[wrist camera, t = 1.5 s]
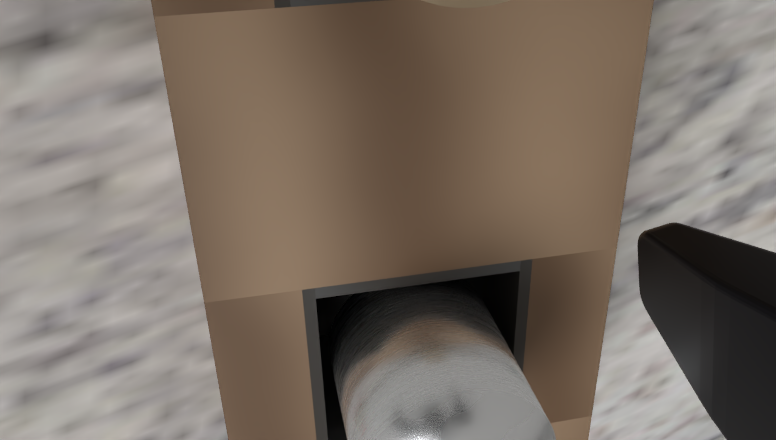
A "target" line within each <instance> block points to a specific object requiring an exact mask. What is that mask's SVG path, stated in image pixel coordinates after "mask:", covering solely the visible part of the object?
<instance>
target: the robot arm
mask: <svg viewBox="0 0 776 440" xmlns="http://www.w3.org/2000/svg"><path fill="white" fill-rule="evenodd" d="M638 264H639V287H640V294H641V298H642V301H643V304H644V306H645V309H646V310H647V312H648V314H649V316H650V317H651V319H652V321H653V322H654V324H655V326H656V327H657V329H658V331H659V332H660V334H661V336H662V337H663V339H664V341H665V342H666V344H667V346H668V347H669V349H670V351H671V353H672V354H673V356H674V358H675V359H676V361H677V363H678V364H679V366H680V368H681V369H682V371H683V373H684V374H685V376H686V378H687V379H688V381H689V383H690V384H691V386H692V388H693V389H694V391H695V393H696V394H697V396H698V398H699V400H700V401H701V403H702V404H703V406H704V407H705V409H706V411H707V412H708V414H709V415H710V417H711V419H712V420H713V421H714V423H715V424H716V426H717V427H718V428H719V430H720V431H721V432H722V434H723V435H724V437H725V438H726V439H727V440H776V253H775V252H771V251H768V250H765V249H762V248H758V247H755V246H752V245H749V244H745V243H742V242H739V241H736V240H732V239H729V238H726V237H723V236H719V235H716V234H713V233H710V232H706V231H703V230H700V229H697V228H693V227H690V226H687V225H684V224H680V223H669V224H665V225H662V226H659V227H656V228H653V229H649V230H646V231H644V232H643V233H642V234H641V235H640V236H639V239H638Z"/></svg>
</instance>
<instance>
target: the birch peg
mask: <svg viewBox="0 0 776 440" xmlns="http://www.w3.org/2000/svg"><path fill="white" fill-rule="evenodd" d="M421 1H425V2H428V3H432V4H435V5H439V6H446V7H454V8H478V7H485V6H492V5H496V4H500V3H503V2H507V1H510V0H421Z"/></svg>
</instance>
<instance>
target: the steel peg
mask: <svg viewBox="0 0 776 440" xmlns="http://www.w3.org/2000/svg"><path fill="white" fill-rule="evenodd" d="M328 349H329V356H330V361H331V365H332V370H333V375H334V380H335V384H336V389H337V394H338V399H339V403H340V408H341V413H342V417H343V422H344V427H345V432H346V436H347V440H556V437H555V433H554V430H553V427H552V425H551V423H550V421H549V420H548V418H547V416H546V414H545V412H544V411H543V409H542V407H541V405H540V403H539V401H538V400H537V398H536V396H535V394H534V392H533V390H532V389H531V387H530V385H529V383H528V381H527V380H526V378H525V376H524V374H523V372H522V370H521V369H520V367H519V365H518V363H517V361H516V360H515V358H514V356H513V354H512V352H511V350H510V349H509V347H508V345H507V343H506V341H505V340H504V338H503V336H502V334H501V332H500V330H499V329H498V327H497V325H496V323H495V321H494V319H493V318H492V316H491V314H490V312H489V310H488V309H487V307H486V305H485V303H484V301H483V300H482V298H481V296H480V294H479V293H478V292H477V291H476V289H475V288H474V287H473V286H472V285H471V284H469V283H468V282H467V281H466V280H464V279H457V280H450V281H443V282H435V283H428V284H421V285H413V286H406V287H399V288H391V289H384V290H377V291H369V292H362V293H355V294H353V295H352V296H351V297H350V298H349V299H348V300H347V301H346V302H345V304H344V305H343V306H342V308H341V309H340V311H339V312H338V314H337V315H336V317H335V319H334V321H333V324H332V327H331V330H330V335H329V344H328Z"/></svg>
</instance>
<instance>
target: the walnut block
mask: <svg viewBox="0 0 776 440" xmlns="http://www.w3.org/2000/svg"><path fill="white" fill-rule="evenodd" d="M653 2H654V0H510V1H507V2H503V3H500V4H496V5H492V6H485V7H478V8H454V7H446V6H439V5H435V4H432V3H428V2H425V1H421V0H151V3H152V8H153V14H154V20H155V26H156V31H157V37H158V43H159V48H160V54H161V60H162V65H163V71H164V77H165V82H166V88H167V94H168V99H169V105H170V111H171V116H172V122H173V128H174V133H175V139H176V145H177V150H178V156H179V162H180V167H181V173H182V179H183V184H184V190H185V196H186V202H187V207H188V213H189V219H190V224H191V230H192V236H193V241H194V247H195V253H196V258H197V264H198V270H199V275H200V281H201V287H202V292H203V298H204V304H205V309H206V315H207V321H208V326H209V332H210V338H211V343H212V349H213V355H214V361H215V366H216V372H217V378H218V383H219V389H220V395H221V400H222V406H223V412H224V417H225V423H226V429H227V434H228V440H347V436H346V432H345V427H344V422H343V417H342V413H341V408H340V403H339V399H338V394H337V389H336V384H335V380H334V375H333V370H332V365H331V361H330V356H329V349H328V344H329V335H328V336H321V337H319V330H318V318H317V307H316V299H318V298H325V297H333V296H340V295H347V294H355V293H362V292H369V291H377V290H384V289H391V288H399V287H406V286H413V285H421V284H428V283H435V282H443V281H450V280H457V279H464V280H466V281H467V282H468V283H469V284H471V285H472V286H473V287H474V288H475V289H476V291H477V292H478V293H479V294H480V296H481V298H482V300H483V301H484V303H485V305H486V307H487V309H488V310H489V312H490V314H491V316H492V318H493V319H494V321H495V323H496V325H497V327H498V329H499V330H500V332H501V334H502V336H503V338H504V340H505V341H506V343H507V345H508V347H509V349H510V350H511V352H512V354H513V356H514V358H515V360H516V361H517V363H518V365H519V367H520V369H521V370H522V372H523V374H524V376H525V378H526V380H527V381H528V383H529V385H530V387H531V389H532V390H533V392H534V394H535V396H536V398H537V400H538V401H539V403H540V405H541V407H542V409H543V411H544V412H545V414H546V416H547V418H548V420H549V421H550V423H551V425H552V427H553V430H554V433H555V437H556V440H588V436H589V430H590V423H591V416H592V410H593V403H594V396H595V390H596V383H597V376H598V370H599V363H600V356H601V350H602V343H603V336H604V329H605V323H606V316H607V309H608V303H609V296H610V289H611V283H612V276H613V269H614V263H615V256H616V249H617V243H618V236H619V229H620V222H621V216H622V209H623V202H624V196H625V189H626V182H627V176H628V169H629V162H630V156H631V149H632V142H633V136H634V129H635V122H636V116H637V109H638V102H639V95H640V89H641V82H642V75H643V69H644V62H645V55H646V49H647V42H648V35H649V29H650V22H651V15H652V9H653Z"/></svg>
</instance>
